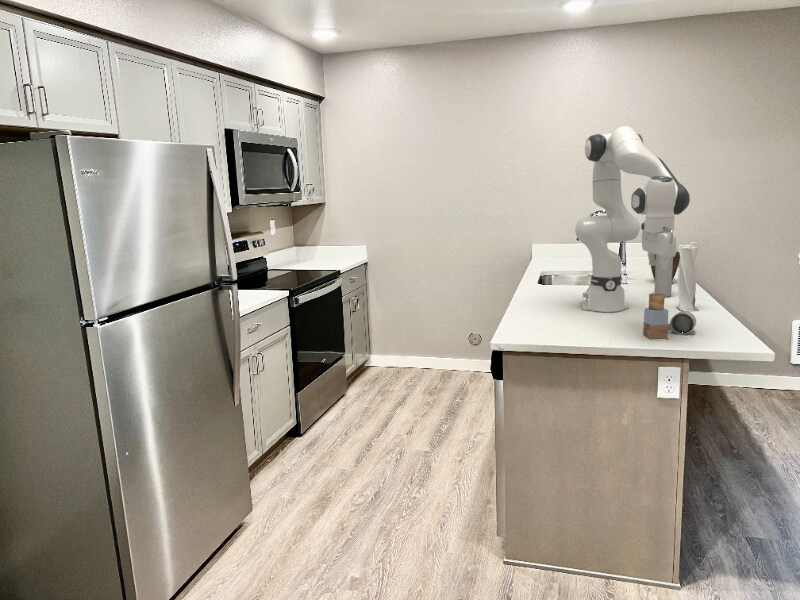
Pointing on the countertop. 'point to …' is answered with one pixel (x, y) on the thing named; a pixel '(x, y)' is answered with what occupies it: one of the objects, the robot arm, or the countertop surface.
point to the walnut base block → (655, 331)
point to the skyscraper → (687, 277)
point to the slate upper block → (656, 317)
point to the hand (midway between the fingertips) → (657, 267)
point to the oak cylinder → (656, 301)
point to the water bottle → (663, 277)
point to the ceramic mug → (682, 322)
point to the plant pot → (675, 265)
